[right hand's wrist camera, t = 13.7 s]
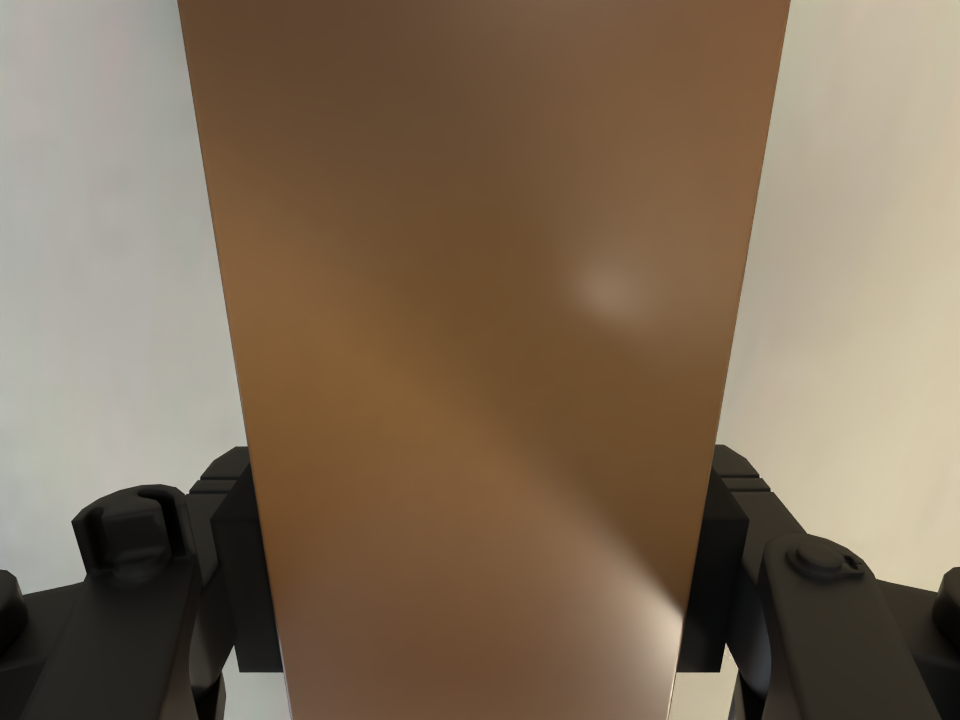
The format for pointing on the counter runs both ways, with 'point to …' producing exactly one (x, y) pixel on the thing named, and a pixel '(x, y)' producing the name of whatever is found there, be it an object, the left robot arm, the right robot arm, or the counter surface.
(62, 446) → the counter surface
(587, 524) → the bar
